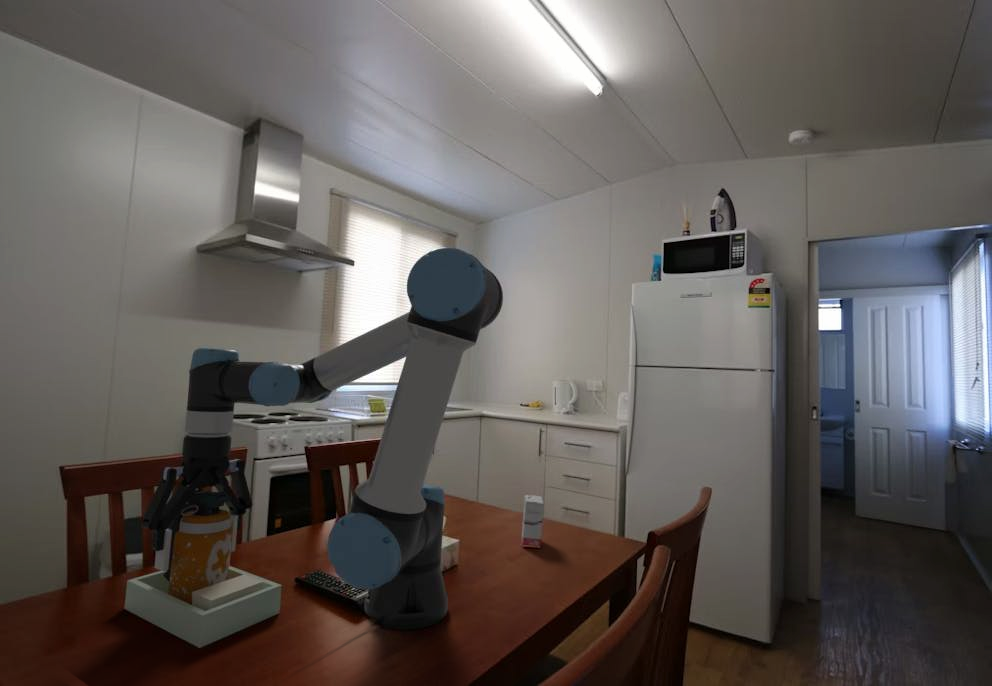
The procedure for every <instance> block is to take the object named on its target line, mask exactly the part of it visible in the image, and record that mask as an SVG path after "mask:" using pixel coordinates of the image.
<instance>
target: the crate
mask: <svg viewBox="0 0 992 686" xmlns="http://www.w3.org/2000/svg"><path fill="white" fill-rule="evenodd" d="M165 572H166V571H161V570H158V571H155V572H151V573H149V574H145V575H141V576H138V577H134V578H131V579H128V580H126V589H125V600H124V608H123V609H124V610H125V611H128V612H129V613H132V614H133V615H136V616H137V617H139V618H142V619H143V620H145V621H147V622H149V623H151V624H152V625H154V626H157V627H159V628H160V629H163V630H164V631H166V632H168V633H170V634H171V635H173V636H176V637H178V638H180V639H181V640H183V641H185V642H187V643H189V644H191V645H192V646H195V647H197V648H199V649H201V648H203V647H206V646H207V645H210V644H213V643H215V642H217V641H219V640H222V639H224V638H226V637H228V636H230V635H231V636H232V635H233V634H235V633H238V632H240V631H242V630H244V629H247V628H249V627H251V626H253V625H256V624H258V623H260V622H262V621H265V620H266V619H269V618H272V617H273V616H276V615H279V614H280V612H281V611H280V609H281V600H282V599H281V597H282V584H280V583H276V582H275V581H271V580H269V579H266V578H263V577H261V576H259V575H255V574H252V573H250V572H248V571H245V570H242V569H239V568H236V567H233V566H231V565H229V573H228V580H229V579H232V578H235V577H238V576H241V575H247V576H249V577H252V578H255V579H257V580H260V581H263V585H262V589H261V590H260V591H257V592H255V593H252V594H249V595H247V596H244V597H242V598H239V599H236V600H234V601H231V602H228V603H226V604H223V605H220V606H218V607H215V608H213V609H210V610H207V611H203V610H201V609H199V608H197V607H195V606H193V605H190V604H188V603H186V602H184V601H182V600H179V599H177V598H175V597H173V596H171V595H169V594H168V590H169V581H168V580H167V579H166V578H165V577H164V576H163V575H164V574H165Z"/></svg>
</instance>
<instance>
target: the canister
mask: <svg viewBox="0 0 992 686" xmlns="http://www.w3.org/2000/svg"><path fill="white" fill-rule="evenodd" d="M229 501H231V497H230V496H226V492H218V491H212V490H211V491H210V490H205V489H204V488H200V489H196V490H195V491H194V493H192V494H191V495H190V496H189V497H188V499H187V500H186V502H185V503H184V504H183V506H182V507H181V509H180V510H179V512H178V513H177V515H176V516H175V518H174V519H173V520H172V522H171V529H170V530H172V535H171V545H170V556H169V566H168V570H167V571H166V572H165V574H164V575H163V576H164V577H165V578H166V579H167V580H168V581H169V590H168V594H169V595H171V596H173V597H175V598H177V599H179V600H182V601H184V602H186V603H188V604H190V605H192V597H193V596H192V592H194V591H197V590H200V589H203V588H206V587H209V586H212V585H215V584H217V583H220V582H223V581H226V580H228V573H229V566H230V561H231V553H232V552H231V544H232V535H233V530H232V528H230V521H231V516H230V514H229V513H230V512H229V510H228V511H227V510H225V509H222V508H221V507H224V506H225V504H226V502H229ZM220 508H221V509H220Z"/></svg>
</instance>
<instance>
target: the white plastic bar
mask: <svg viewBox="0 0 992 686" xmlns="http://www.w3.org/2000/svg"><path fill="white" fill-rule="evenodd" d="M262 585H263V581H260V580H257V579H255V578H252V577H249V576H247V575H241V576H238V577H235V578H232V579H229V580H226V581H223V582H220V583H217V584H215V585H212V586H209V587H206V588H203V589H200V590H197V591H194V592H192V596H193V597H192V605H193V606H195V607H197V608H199V609H201V610H203V611H207V610H210V609H213V608H215V607H218V606H220V605H223V604H226V603H228V602H231V601H234V600H236V599H239V598H242V597H244V596H247V595H249V594H252V593H255V592H257V591H260V590H261V589H262Z"/></svg>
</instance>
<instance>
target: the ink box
mask: <svg viewBox="0 0 992 686" xmlns="http://www.w3.org/2000/svg"><path fill="white" fill-rule="evenodd" d="M544 506H545V504H544V501H543V497H542V496H540V495H533V494H525V495H524V502H523V512H522V513H523V514H522V525H521V526H522V527H521V544H522V543H523V545H533V546H541V547H542V545H541V544H542V535H543V534H542V532H543V530H542V529H543V521H544V520H543V519H544V517H543V516H544Z"/></svg>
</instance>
